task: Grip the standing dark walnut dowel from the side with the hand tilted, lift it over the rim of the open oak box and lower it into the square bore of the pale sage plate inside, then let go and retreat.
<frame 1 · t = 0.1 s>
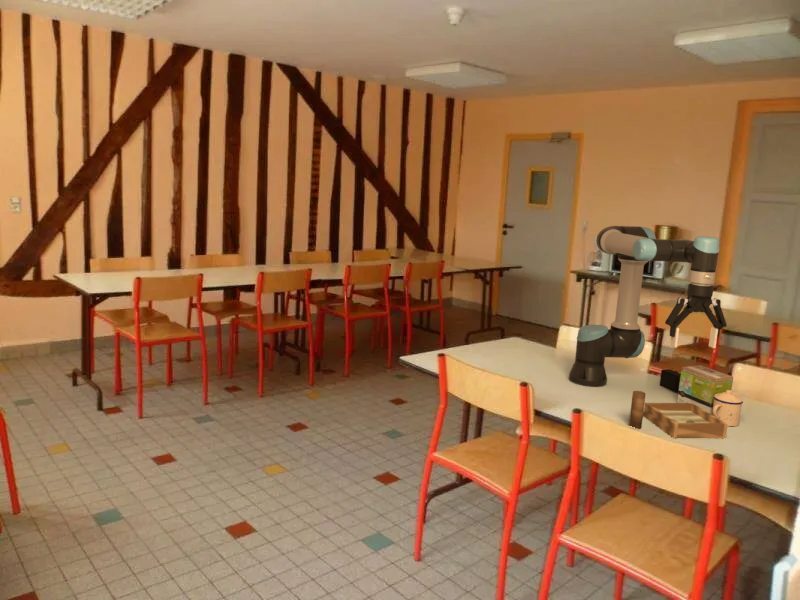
hand: (692, 346, 208), 28 cm above the table, tool pointing down, fingers open, 13 cm apart
walnut dowel: (635, 426, 210), on the table
digital camera: (673, 389, 254), on the table
oak box: (682, 426, 212), on the table
tea box: (701, 409, 232), on the table
teacup with lid: (722, 423, 218), on the table
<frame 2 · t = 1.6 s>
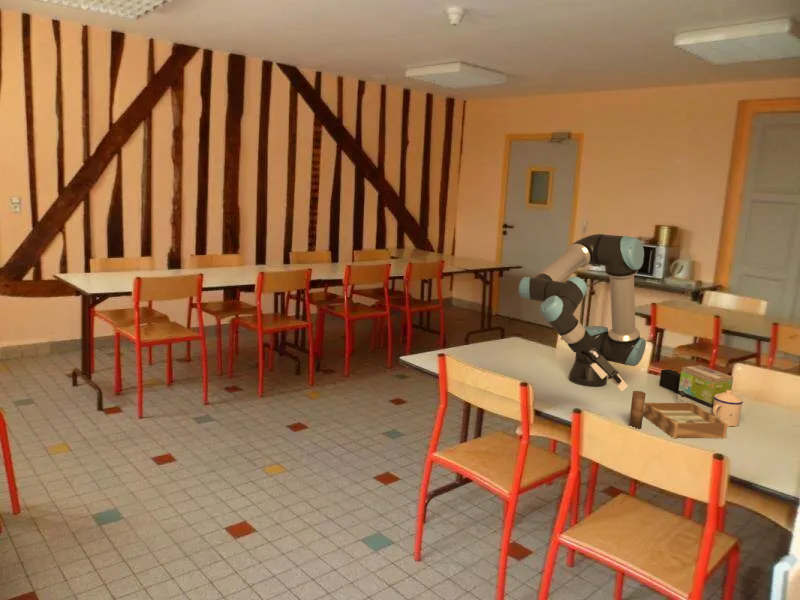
hand: (614, 382, 206), 16 cm above the table, tool tilted 45°, fingers open, 13 cm apart
nothing on the table moved.
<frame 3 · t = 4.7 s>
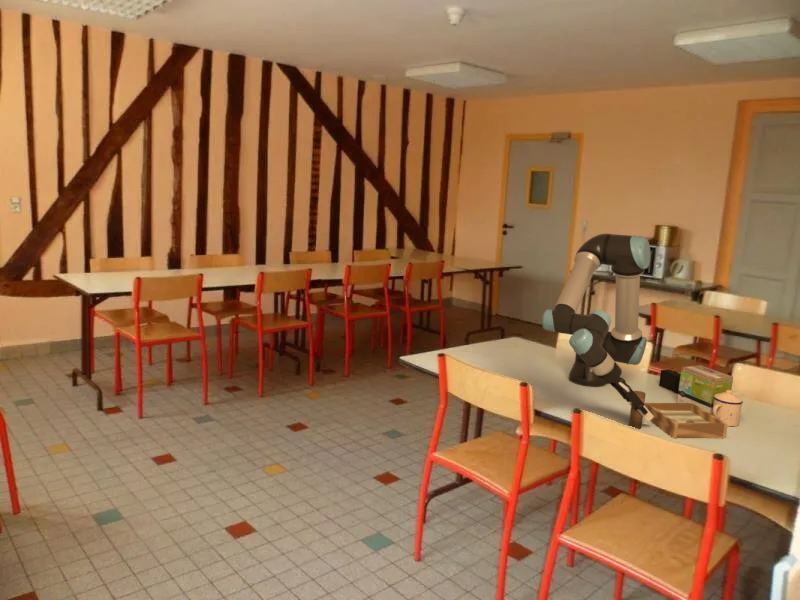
hand: (647, 416, 210), 4 cm above the table, tool tilted 45°, fingers closed on walnut dowel, 4 cm apart
walnut dowel: (635, 426, 210), on the table, touching gripper
everything else where it was.
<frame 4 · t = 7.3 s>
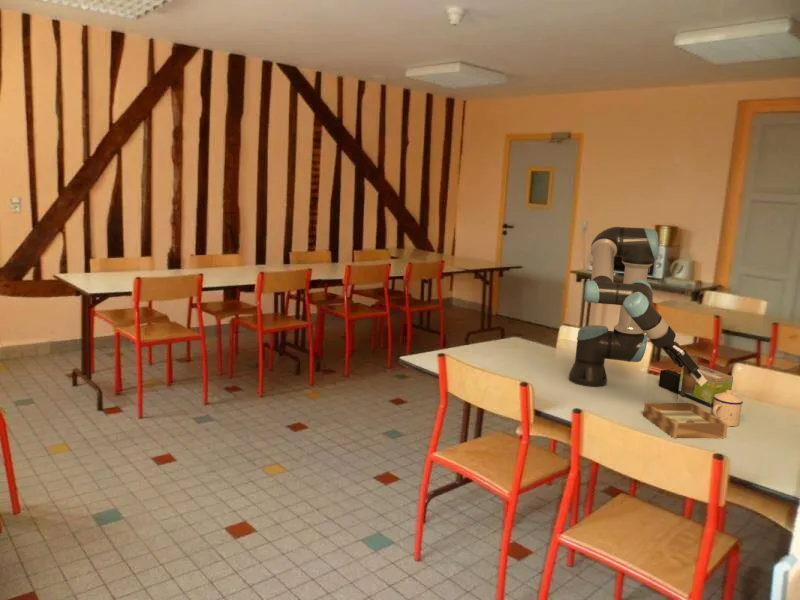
hand: (699, 381, 209), 16 cm above the table, tool tilted 45°, fingers closed on walnut dowel, 4 cm apart
walnut dowel: (687, 391, 210), point 13 cm above the table, touching gripper
everything else where it was.
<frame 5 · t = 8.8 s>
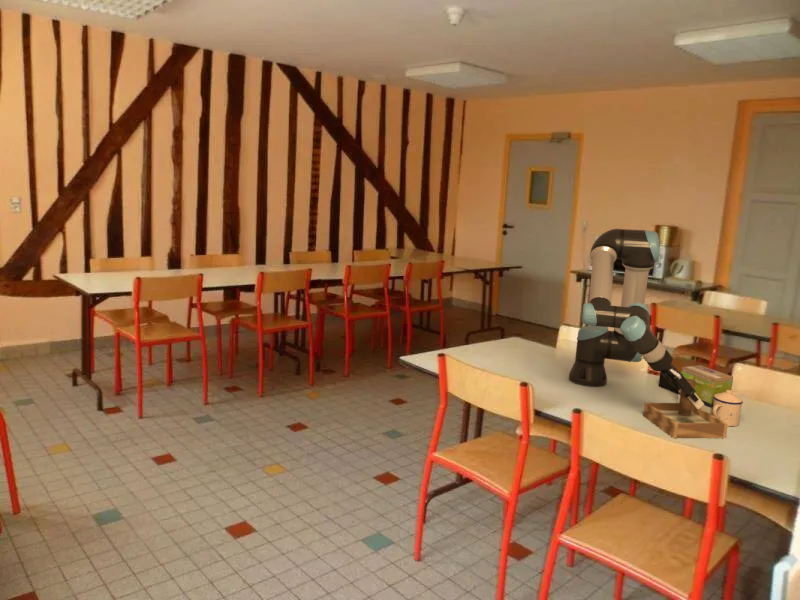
hand: (696, 403, 210), 8 cm above the table, tool tilted 45°, fingers closed on walnut dowel, 4 cm apart
walnut dowel: (684, 414, 211), point 5 cm above the table, touching gripper
everything else where it was.
when the fingers open (5 cm above the table, at t = 10.1 s): walnut dowel drops 1 cm, resting in oak box.
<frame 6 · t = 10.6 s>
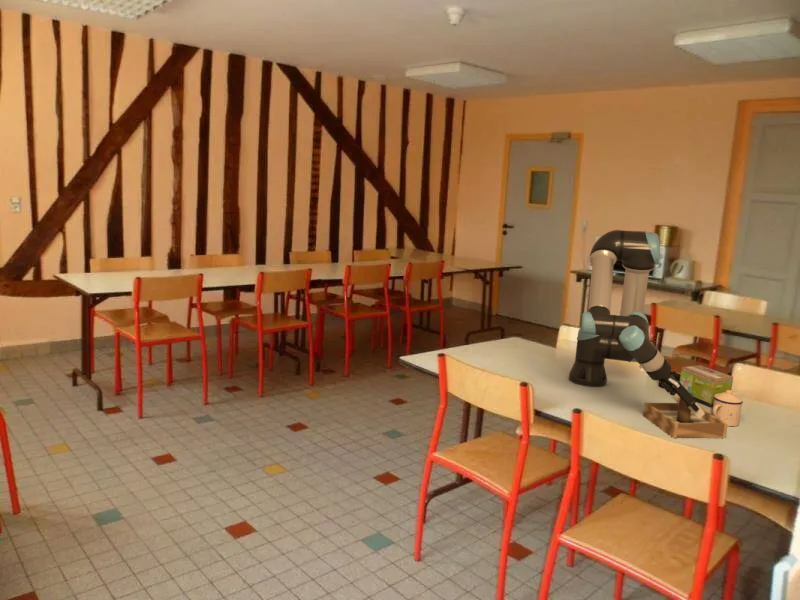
hand: (694, 411, 211), 6 cm above the table, tool tilted 45°, fingers open, 8 cm apart
walnut dowel: (682, 426, 212), resting in oak box
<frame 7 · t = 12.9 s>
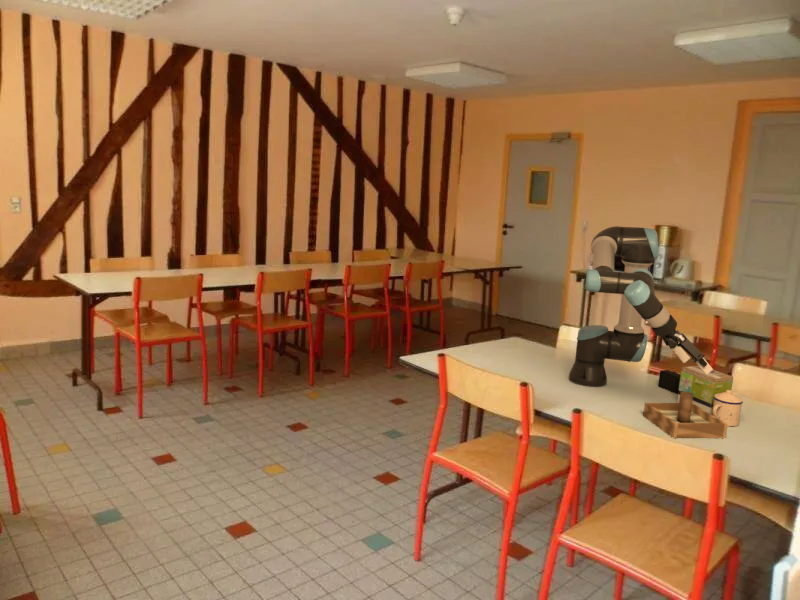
hand: (697, 366, 208), 22 cm above the table, tool tilted 45°, fingers open, 13 cm apart
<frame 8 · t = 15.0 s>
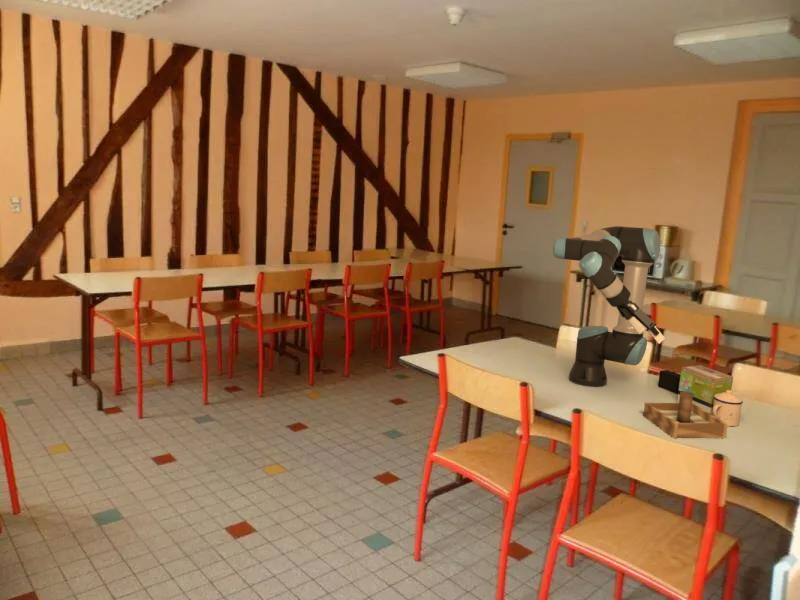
hand: (651, 336, 213), 30 cm above the table, tool tilted 45°, fingers open, 13 cm apart
at the end: walnut dowel 0.0 cm off-centre on the oak box, point 0.0 cm above the oak box's base; walnut dowel tilted 0°; the gripper is holding nothing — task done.
